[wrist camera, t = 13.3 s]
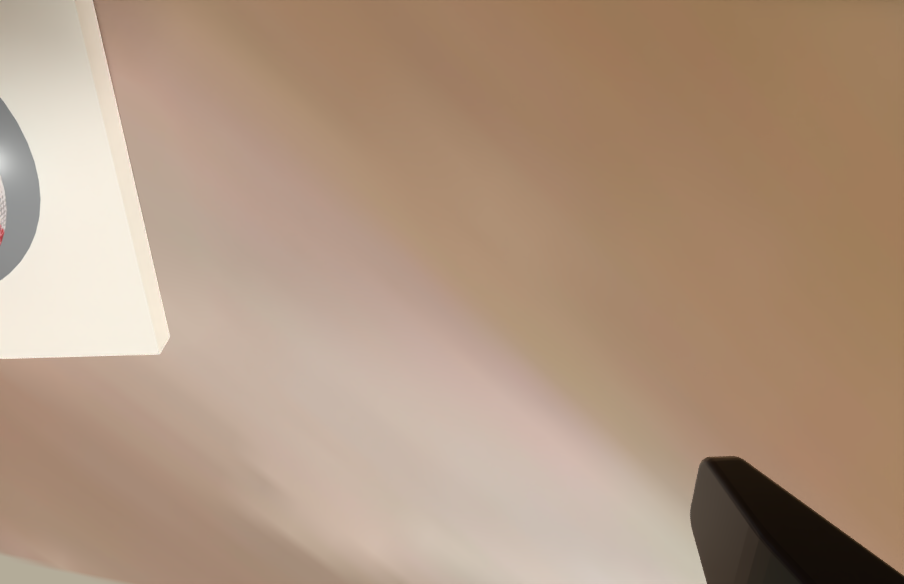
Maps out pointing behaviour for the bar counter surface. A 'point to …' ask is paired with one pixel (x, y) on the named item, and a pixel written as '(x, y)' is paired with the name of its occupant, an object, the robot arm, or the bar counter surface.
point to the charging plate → (68, 195)
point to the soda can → (2, 211)
